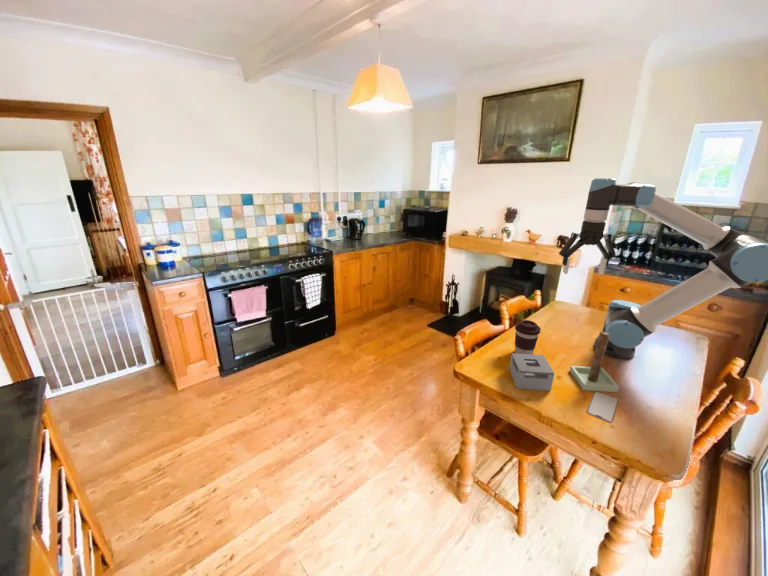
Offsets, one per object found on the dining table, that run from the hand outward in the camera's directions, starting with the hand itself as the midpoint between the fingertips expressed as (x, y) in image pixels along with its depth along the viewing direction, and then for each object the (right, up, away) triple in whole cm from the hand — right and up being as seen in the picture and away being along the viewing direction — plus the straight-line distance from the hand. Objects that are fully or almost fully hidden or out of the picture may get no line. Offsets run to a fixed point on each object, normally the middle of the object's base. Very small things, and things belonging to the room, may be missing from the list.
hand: (582, 273), depth 131 cm
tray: (0, -42, -7) cm, 42 cm away
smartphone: (-5, -47, -19) cm, 51 cm away
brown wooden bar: (-1, -41, -7) cm, 42 cm away
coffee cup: (-19, -35, +12) cm, 42 cm away
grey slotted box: (-24, -42, -6) cm, 49 cm away
